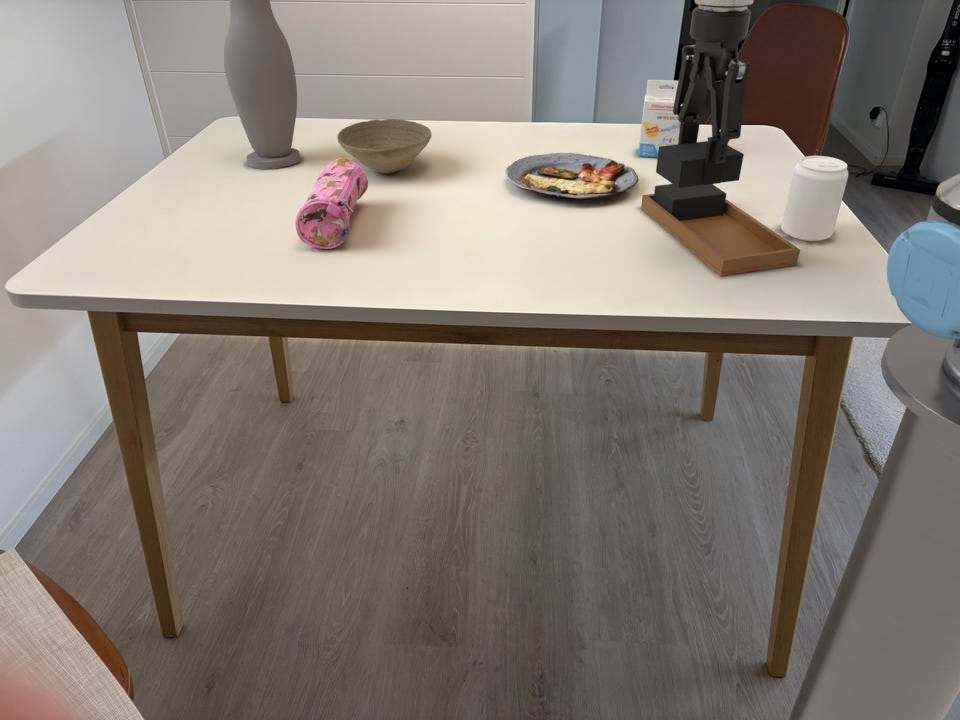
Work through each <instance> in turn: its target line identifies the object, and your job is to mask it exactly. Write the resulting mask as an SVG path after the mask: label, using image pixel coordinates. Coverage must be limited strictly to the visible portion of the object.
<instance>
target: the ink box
mask: <svg viewBox="0 0 960 720" xmlns="http://www.w3.org/2000/svg"><path fill="white" fill-rule="evenodd" d="M678 81H679V80H672V79H671V80H669V79H648V80H647V81H646V90H645V95H644V99H643V100H644V101H643V109H642V116H641V117H642V118H641V126H640V135H639V143H638V144H639V145H638V157H641V158H656V159H657V158H658V150H659V146H668V145H677V144H678V138H679V133H680V132H679V131H680V123H681V122H679V120H678V117H679V116H678V115H674V114H673V107H674V102H675V97H676V91H677V86H678ZM666 85H667V86H669V87H672V89H671V88H660V87H665V86H666ZM682 105H683V104H681V106H682Z"/></svg>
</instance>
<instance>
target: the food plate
mask: <svg viewBox="0 0 960 720" xmlns="http://www.w3.org/2000/svg"><path fill="white" fill-rule="evenodd" d="M505 177H506V178H507V180H508V181H510V182H511V183H512V184H514V185H515V186H517V187H520V188H521V189H523V190H524V189H525V190H529V191H535V192H536V193H540V194H542V193H543V194H547V195H554V196H556V197H558V198H560V197H562V198H563V197H565V198H571V199H579V200H580V199H582V200H591V199H599V198H607V197H613V196H615V195H621V194H624V193H625V192H626V191H628V190H630V189H632V187H634V186H635V185H637V184H638V182H639V176H638V174H637V172H636V170H635V169H634V168H632V167H631V166H628V165H626V164H624V162H619V161H615V160H614V159H612V158H607V157H602V156H596V155H590V154H584V153H575V152H554V153H553V152H551V153H543V154H533V155H528V156H525V157H522V158H520V157H519V158H518V159H516V160H514V162H512V163H511V164H510V165H508V166H507V167H505Z"/></svg>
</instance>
